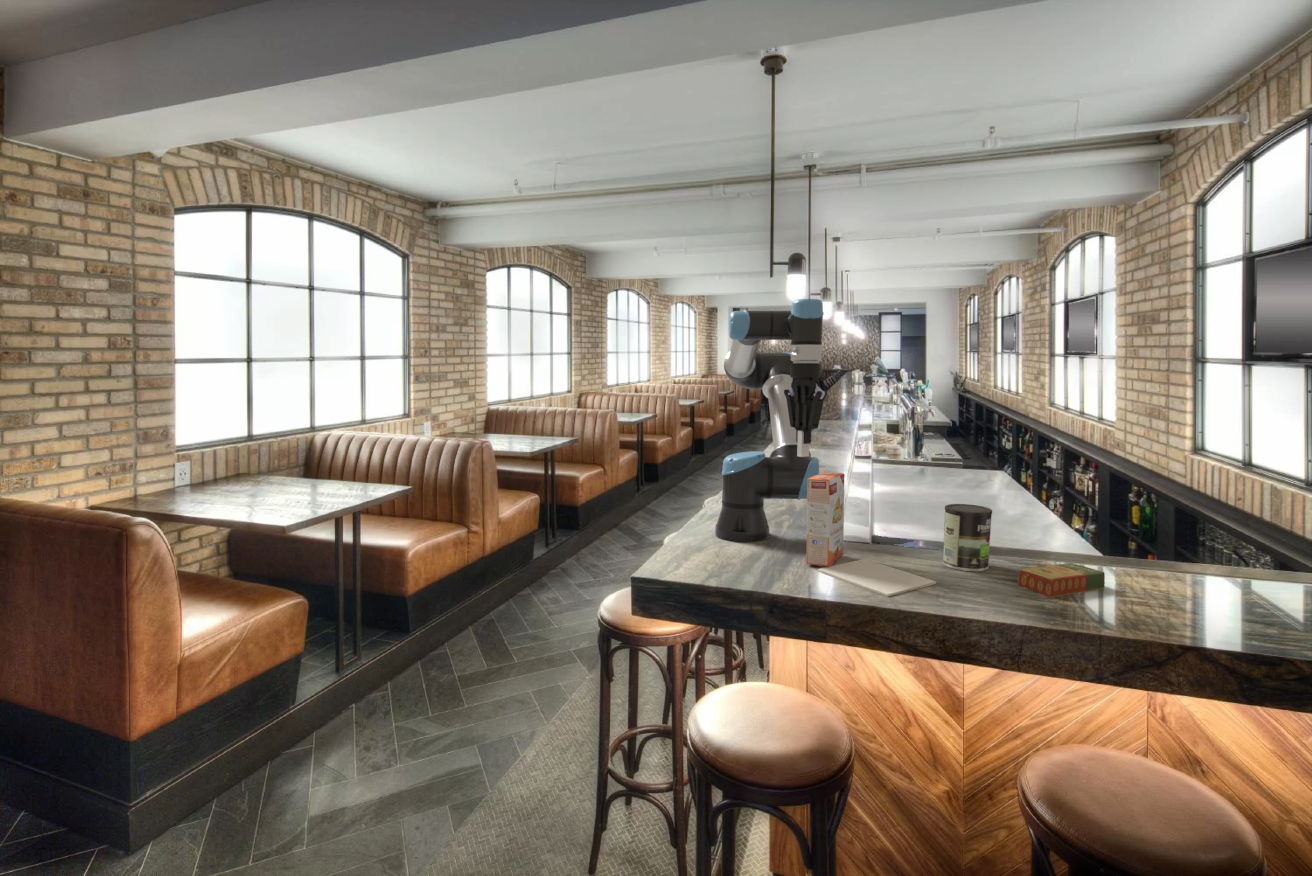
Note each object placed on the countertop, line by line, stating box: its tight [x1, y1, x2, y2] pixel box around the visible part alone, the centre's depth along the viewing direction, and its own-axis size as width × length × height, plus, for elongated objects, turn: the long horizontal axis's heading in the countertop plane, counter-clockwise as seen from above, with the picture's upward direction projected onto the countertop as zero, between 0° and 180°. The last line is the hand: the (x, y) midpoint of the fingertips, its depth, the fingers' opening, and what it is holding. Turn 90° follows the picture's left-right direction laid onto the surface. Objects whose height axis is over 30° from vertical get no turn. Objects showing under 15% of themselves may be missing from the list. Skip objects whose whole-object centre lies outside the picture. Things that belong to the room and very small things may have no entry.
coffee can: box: [942, 503, 993, 573], centre depth 160 cm, size 10×10×14 cm
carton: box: [1017, 562, 1106, 598], centre depth 145 cm, size 8×16×4 cm, turn 111°
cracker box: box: [806, 472, 845, 567], centre depth 163 cm, size 14×6×21 cm, turn 151°
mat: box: [816, 558, 937, 597], centre depth 151 cm, size 20×16×1 cm
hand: (803, 456), depth 169 cm, fingers closed
